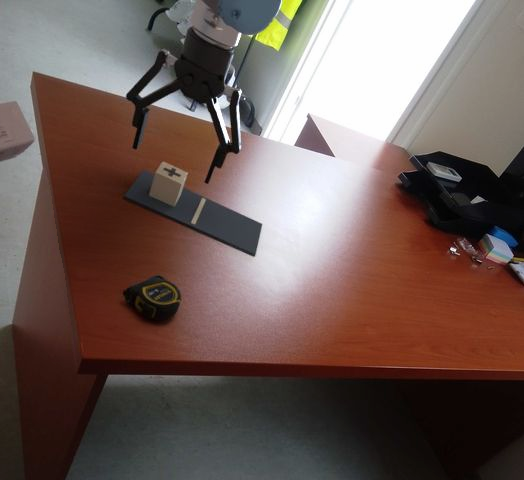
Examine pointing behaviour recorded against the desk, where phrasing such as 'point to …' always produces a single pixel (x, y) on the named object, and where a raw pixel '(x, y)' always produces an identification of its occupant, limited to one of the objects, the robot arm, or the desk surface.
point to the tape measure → (154, 298)
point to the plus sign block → (168, 184)
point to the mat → (199, 215)
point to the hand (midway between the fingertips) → (172, 163)
